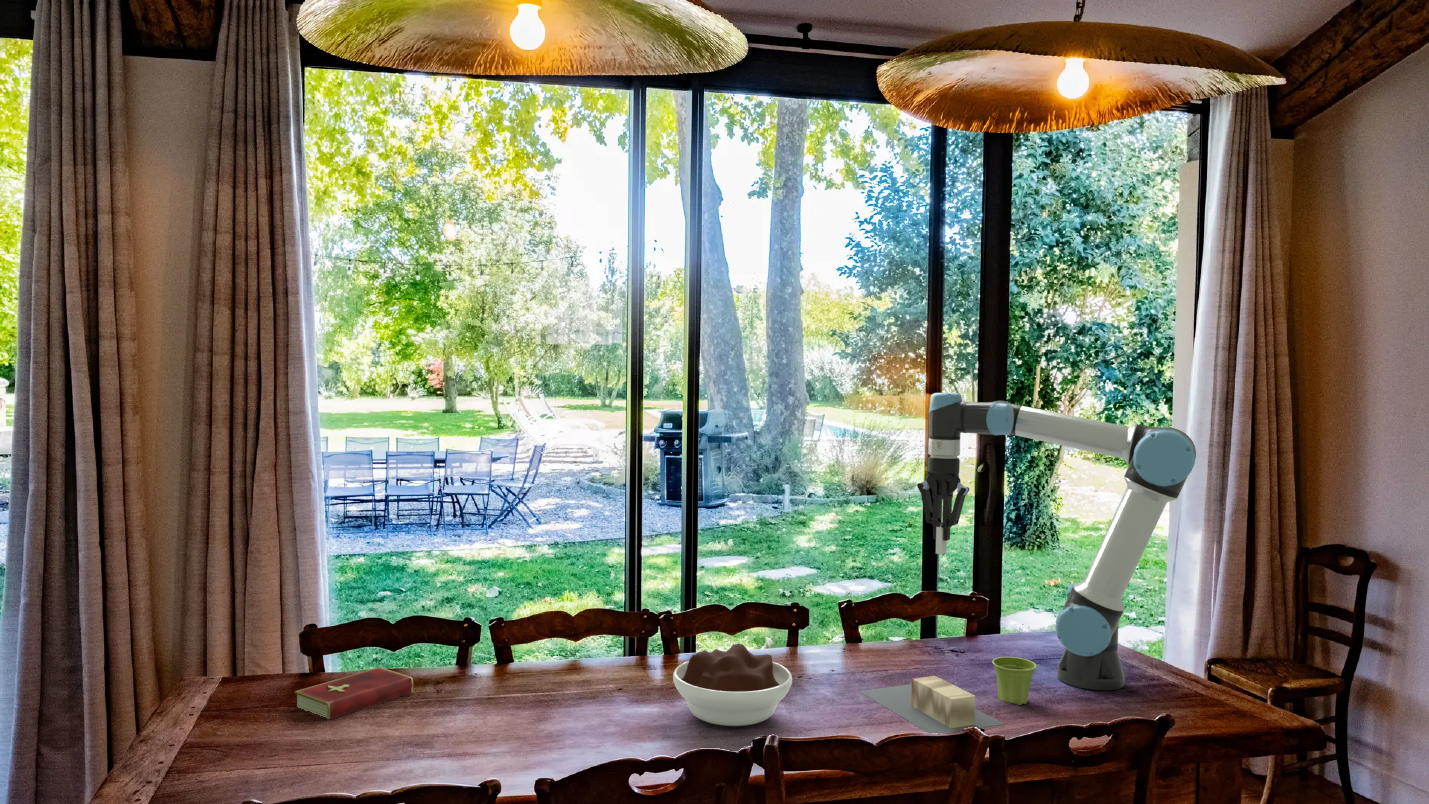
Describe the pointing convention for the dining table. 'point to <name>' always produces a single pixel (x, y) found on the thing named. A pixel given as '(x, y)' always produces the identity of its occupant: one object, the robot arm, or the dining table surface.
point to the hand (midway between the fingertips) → (941, 553)
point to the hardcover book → (354, 692)
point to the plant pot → (1013, 678)
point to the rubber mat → (901, 705)
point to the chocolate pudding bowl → (732, 686)
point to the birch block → (943, 701)
